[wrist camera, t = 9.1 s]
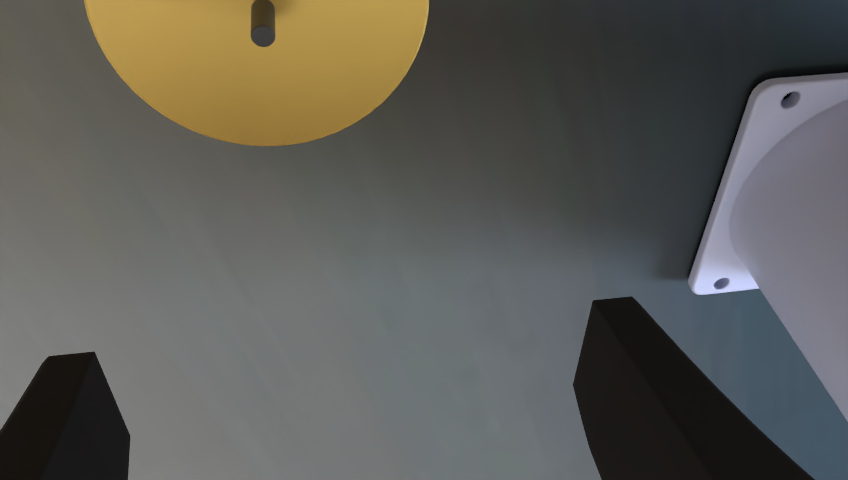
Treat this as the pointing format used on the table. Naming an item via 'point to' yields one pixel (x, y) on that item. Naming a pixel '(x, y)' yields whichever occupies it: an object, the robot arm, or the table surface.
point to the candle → (261, 61)
